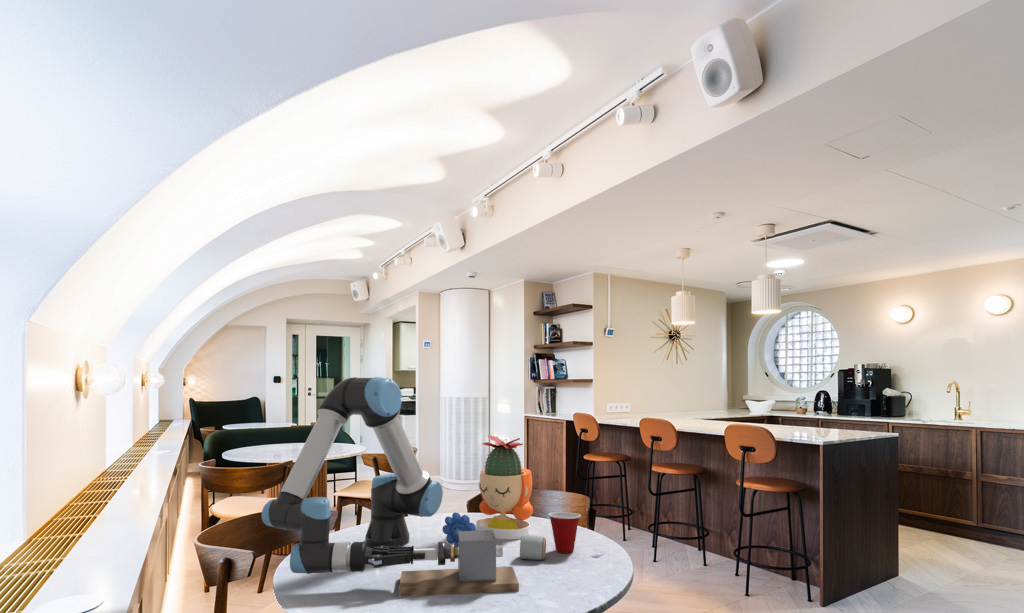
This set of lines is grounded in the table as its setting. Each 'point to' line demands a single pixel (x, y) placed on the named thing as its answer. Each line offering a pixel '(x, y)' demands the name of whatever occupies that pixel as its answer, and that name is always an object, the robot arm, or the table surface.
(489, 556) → the bearing block
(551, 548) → the table surface
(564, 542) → the plastic cup
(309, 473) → the robot arm
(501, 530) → the potted cactus
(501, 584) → the base plate
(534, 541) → the ceramic mug
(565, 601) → the table surface
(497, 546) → the shaft
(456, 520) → the grapes
